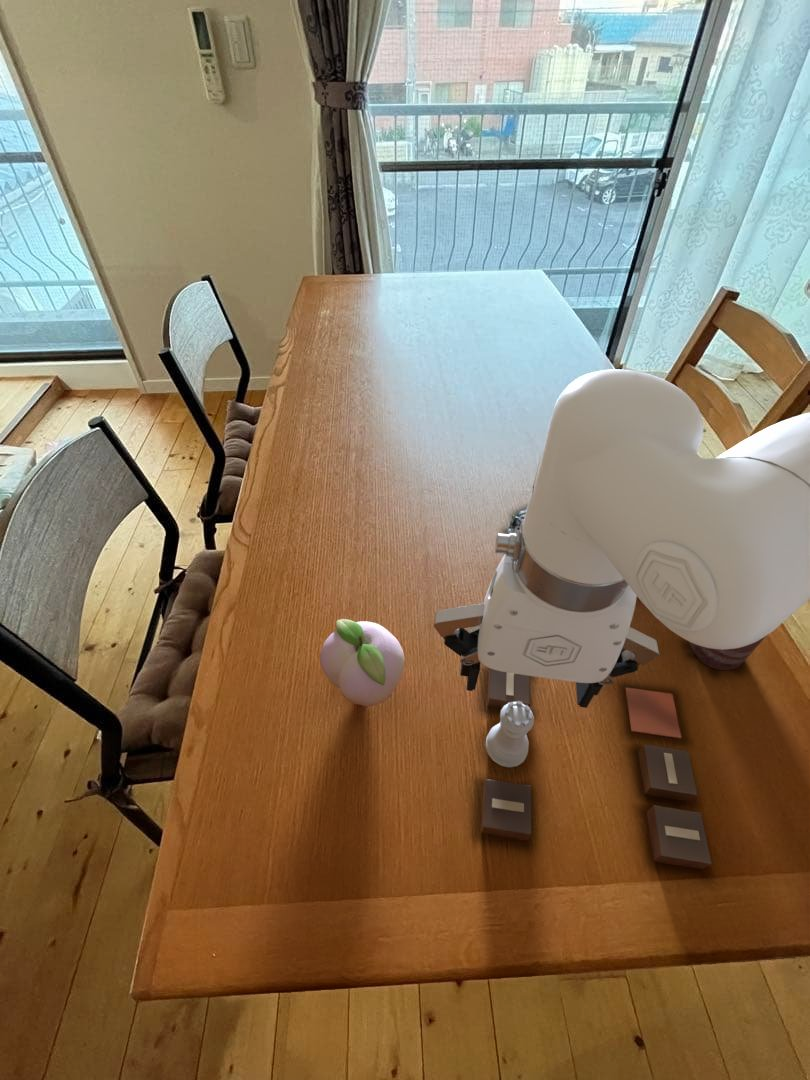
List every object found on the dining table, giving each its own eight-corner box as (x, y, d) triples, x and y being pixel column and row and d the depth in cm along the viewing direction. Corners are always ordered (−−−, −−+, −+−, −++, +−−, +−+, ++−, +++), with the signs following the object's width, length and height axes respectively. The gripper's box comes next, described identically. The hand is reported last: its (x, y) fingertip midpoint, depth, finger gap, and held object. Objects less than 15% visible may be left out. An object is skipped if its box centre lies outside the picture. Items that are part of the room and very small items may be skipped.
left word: (527, 841, 52) (531, 834, 51) (480, 833, 53) (483, 826, 51) (526, 677, 64) (530, 668, 63) (488, 672, 64) (491, 662, 63)
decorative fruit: (420, 689, 63) (424, 640, 56) (365, 737, 59) (361, 691, 52) (366, 637, 67) (363, 586, 60) (312, 679, 64) (302, 629, 56)
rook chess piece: (514, 721, 60) (527, 685, 55) (535, 760, 58) (551, 726, 52) (477, 735, 59) (487, 700, 53) (497, 775, 56) (509, 742, 51)
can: (746, 679, 64) (812, 607, 54) (688, 663, 66) (743, 590, 56) (742, 638, 68) (803, 563, 58) (688, 623, 70) (738, 548, 60)
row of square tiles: (707, 870, 51) (717, 864, 49) (649, 860, 51) (657, 854, 50) (671, 694, 63) (679, 685, 61) (625, 688, 63) (631, 678, 62)
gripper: (437, 584, 35) (423, 708, 47) (722, 622, 33) (630, 739, 46) (448, 503, 40) (433, 635, 52) (696, 533, 38) (619, 661, 51)
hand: (525, 683), depth 49 cm, fingers open, 9 cm apart
